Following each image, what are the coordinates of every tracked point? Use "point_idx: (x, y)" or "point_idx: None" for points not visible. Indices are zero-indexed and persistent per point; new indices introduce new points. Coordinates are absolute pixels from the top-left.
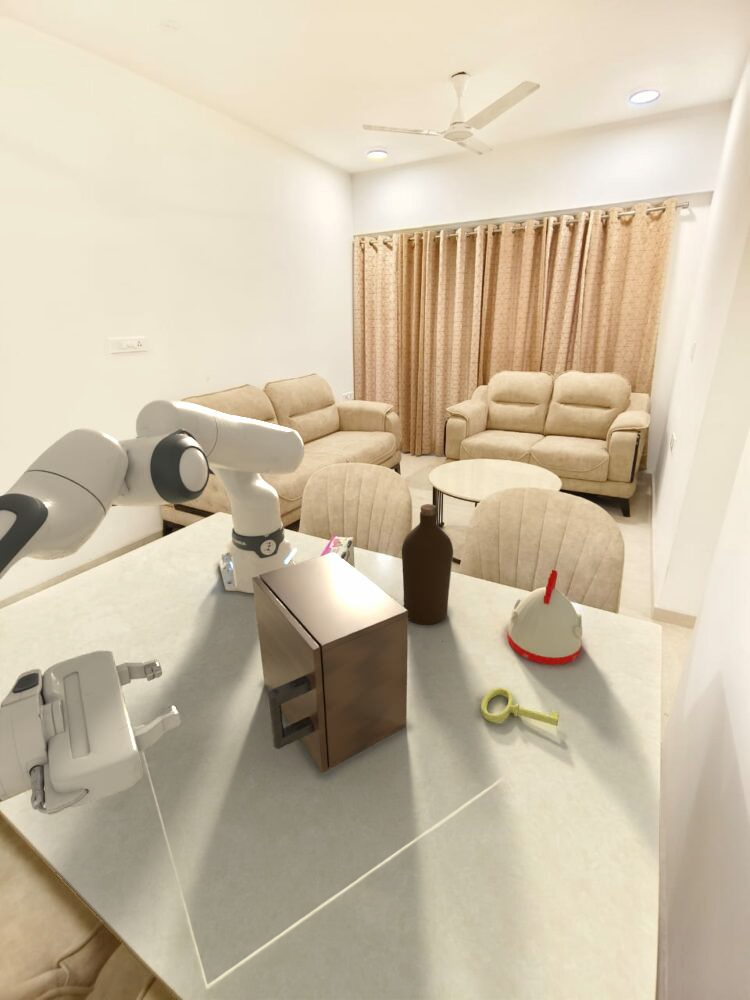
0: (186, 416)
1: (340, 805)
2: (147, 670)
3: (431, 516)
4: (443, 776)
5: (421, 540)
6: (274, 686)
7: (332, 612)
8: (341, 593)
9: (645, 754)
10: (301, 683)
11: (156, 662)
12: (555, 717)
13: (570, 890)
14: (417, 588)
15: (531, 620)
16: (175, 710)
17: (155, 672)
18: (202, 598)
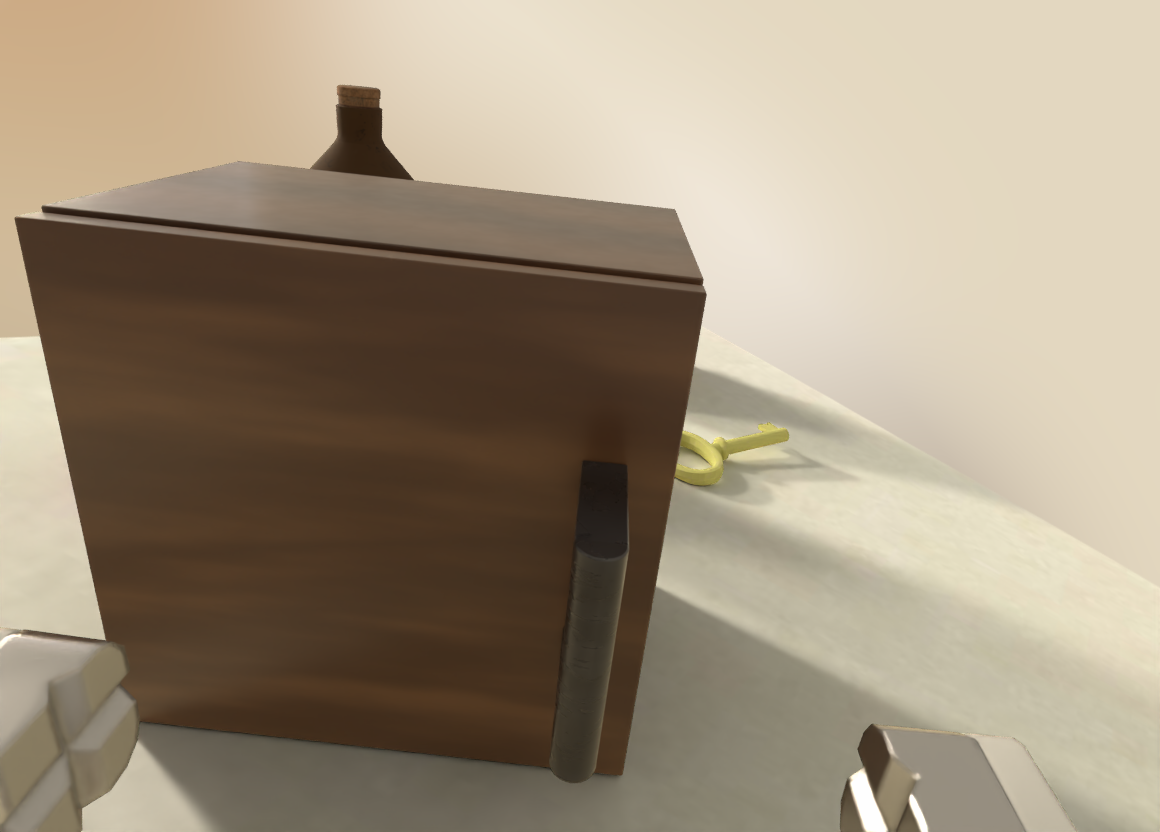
0: None
1: (752, 798)
2: (14, 757)
3: (377, 109)
4: (786, 597)
5: (371, 175)
6: (236, 675)
7: (542, 232)
8: (467, 206)
9: (875, 429)
10: (618, 478)
11: (37, 636)
12: (780, 428)
13: (1083, 608)
14: None
15: None
16: (967, 735)
17: (85, 740)
18: None
